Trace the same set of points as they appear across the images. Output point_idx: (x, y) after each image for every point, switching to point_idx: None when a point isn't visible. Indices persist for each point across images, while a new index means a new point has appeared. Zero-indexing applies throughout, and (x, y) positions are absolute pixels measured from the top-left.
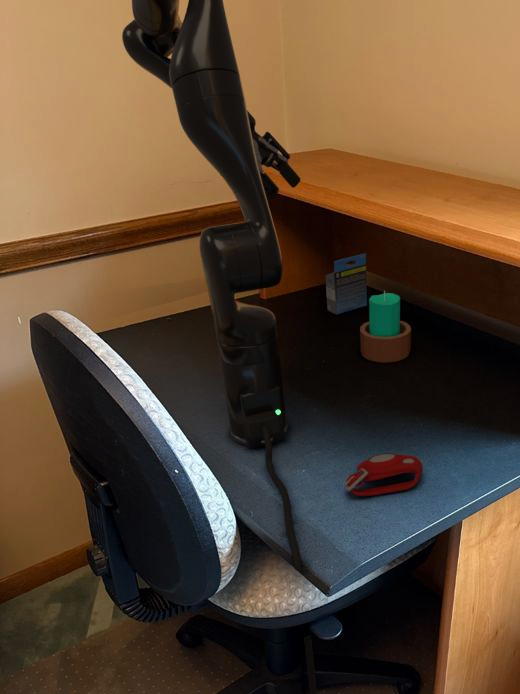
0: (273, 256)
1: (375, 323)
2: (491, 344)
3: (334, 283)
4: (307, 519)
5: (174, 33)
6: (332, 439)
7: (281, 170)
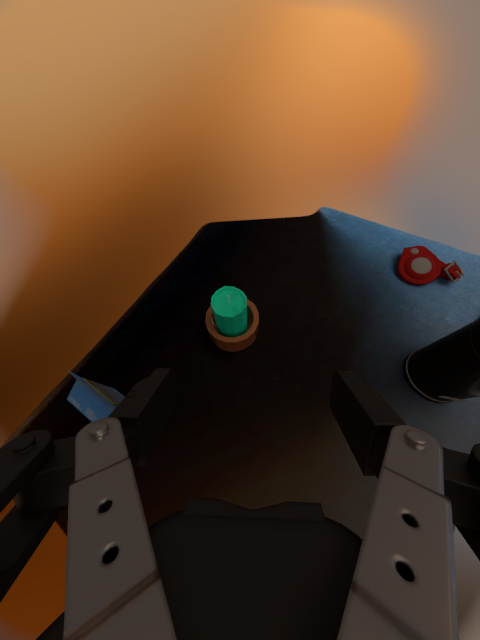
0: None
1: (246, 317)
2: (194, 258)
3: None
4: None
5: None
6: (398, 316)
7: (144, 450)
